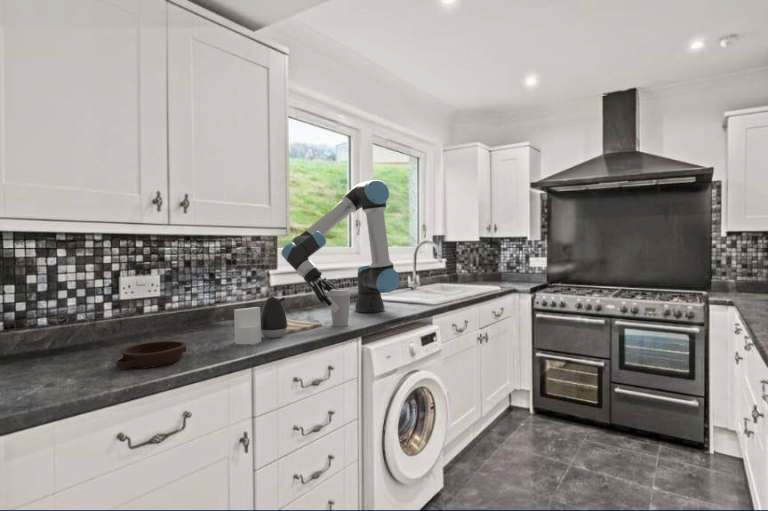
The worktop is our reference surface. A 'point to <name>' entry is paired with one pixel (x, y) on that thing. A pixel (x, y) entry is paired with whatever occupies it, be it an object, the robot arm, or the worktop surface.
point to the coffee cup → (340, 306)
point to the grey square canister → (247, 325)
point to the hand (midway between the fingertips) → (342, 308)
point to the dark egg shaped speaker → (273, 318)
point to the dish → (151, 354)
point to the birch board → (299, 326)
